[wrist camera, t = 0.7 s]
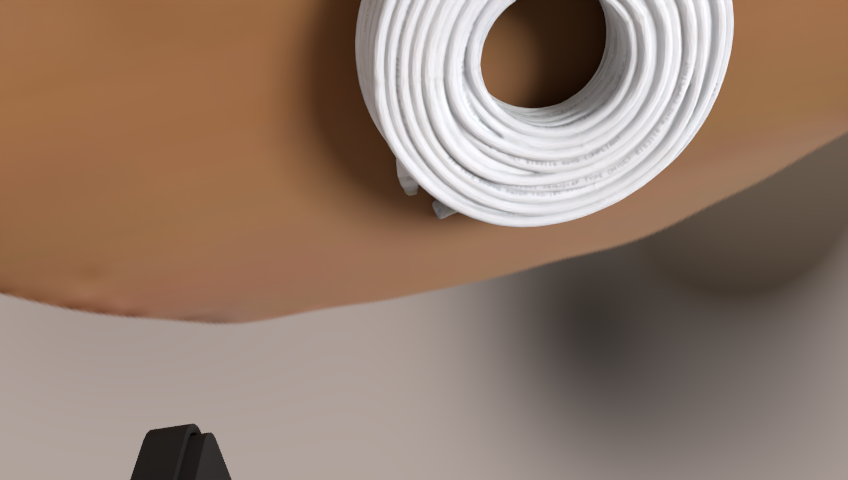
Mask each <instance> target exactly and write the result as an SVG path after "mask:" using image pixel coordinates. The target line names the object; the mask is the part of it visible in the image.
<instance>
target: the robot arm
mask: <svg viewBox="0 0 848 480" xmlns="http://www.w3.org/2000/svg"><path fill="white" fill-rule="evenodd" d="M130 480H231V477H230V475H229V472H228V470H227V467H226V464H225V462H224V459H223V457H222V454H221V452H220V449H219V446H218V444H217V442H216V439H215V437H214V435H213V434H212V433H204V434H201V432H200V430H199V428H198V427H197V426H196V425H195V424H188V425H181V426H174V427H168V428H162V429H154V430H150V431H149V432H148V433H147V434H146V436H145V438H144V440H143V443H142V446H141V450H140V452H139V455H138V458H137V461H136V465H135V467H134V470H133V474H132V476H131V479H130Z"/></svg>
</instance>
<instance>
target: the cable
mask: <svg viewBox="0 0 848 480" xmlns="http://www.w3.org/2000/svg"><path fill="white" fill-rule="evenodd" d="M515 1H516V0H361V4H360V8H359V13H358V19H357V25H356V37H355V54H356V65H357V72H358V79H359V84H360V88H361V91H362V94H363V98H364V101H365V104H366V106H367V109H368V111H369V113H370V116H371V118H372V120H373V122H374V123H375V125H376V127H377V129H378V130H379V132H380V133H381V135H382V136H383V138H384V139H385V140H386V142H387V143H388V145H389V147H390V149H391V151H392V152H393V154H394V155H395V157H396V167H397V175H398V178H399V182H400V185H401V186H402V187H403V189H404V191H405V193H406V194H407V195H409V196H411V195H415V194H417V192H418V187H419V185H420V186H421V187H422V188H423V189H424V190H426V191H427V192H428V193H429V194H430V195H432V196H433V197H434V198H436V200H434V202H433V204H432V206H433V209H434V211H435V213H436V215H437V217H438V218H439V219H444V218H446V217H448V216H450V215H452V214H454V213H457V212H459V213H462V214H464V215H466V216H468V217H471V218H473V219H477V220H480V221H483V222H486V223H490V224H495V225H500V226H510V227H535V226H544V225H551V224H557V223H562V222H566V221H570V220H574V219H577V218H580V217H584V216H586V215H589V214H592V213H594V212H596V211H599V210H601V209H604V208H606V207H608V206H610V205H612V204H614V203H616V202H618V201H620V200H622V199H623V198H625V197H627V196H628V195H630V194H631V193H633V192H634V191H636V190H637V189H639V188H640V187H642V186H643V185H645V184H646V183H647V182H649V181H650V180H651V179H653V178H654V177H655V176H656V175H658V174H659V173H660V172H661V171H662V170H663V169H665V168H666V167H667V166H668V165H669V164H670V163H671V162H672V161H673V160H674V159H675V158H676V157H677V156H678V155H679V154H680V153H681V152H682V151H683V150H684V148H685V147H686V146H687V145H688V144H689V142H690V141H691V140H692V139H693V137H694V136H695V134H696V133H697V132H698V130H699V129H700V127H701V126H702V124H703V123H704V121H705V119H706V118H707V116H708V114H709V112H710V110H711V108H712V106H713V104H714V102H715V100H716V97H717V95H718V93H719V90H720V88H721V85H722V82H723V79H724V76H725V73H726V70H727V66H728V62H729V57H730V53H731V48H732V40H733V29H734V17H733V6H732V0H599V1H600V3H601V5H602V8H603V11H604V15H605V20H606V45H605V50H604V54H603V57H602V60H601V63H600V65H599V68H598V69H597V71H596V73H595V74H594V76H593V77H592V79H591V80H590V81H589V82H588V84H587V85H586V86H585V87H584V88H583V89H582V90H580V91H579V92H578V93H577V94H575V95H574V96H572V97H571V98H569V99H567V100H565V101H564V102H562V103H560V104H557V105H553V106H549V107H543V108H523V107H517V106H513V105H509V104H507V103H504V102H502V101H500V100H498V99H496V98H495V97H493V96H492V95H491V94H489V92H488V91H487V89H486V87H485V85H484V82H483V78H482V74H481V67H480V61H481V54H482V48H483V44H484V41H485V39H486V37H487V34H488V32H489V30H490V28H491V27H492V25H493V23H494V22H495V20H496V19H497V18H498V16H499V15H500V14H501V13H502V12H503V11H504V10H505V9H506V8H507V7H508V6H510V5H511V4H512V3H513V2H515Z"/></svg>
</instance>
